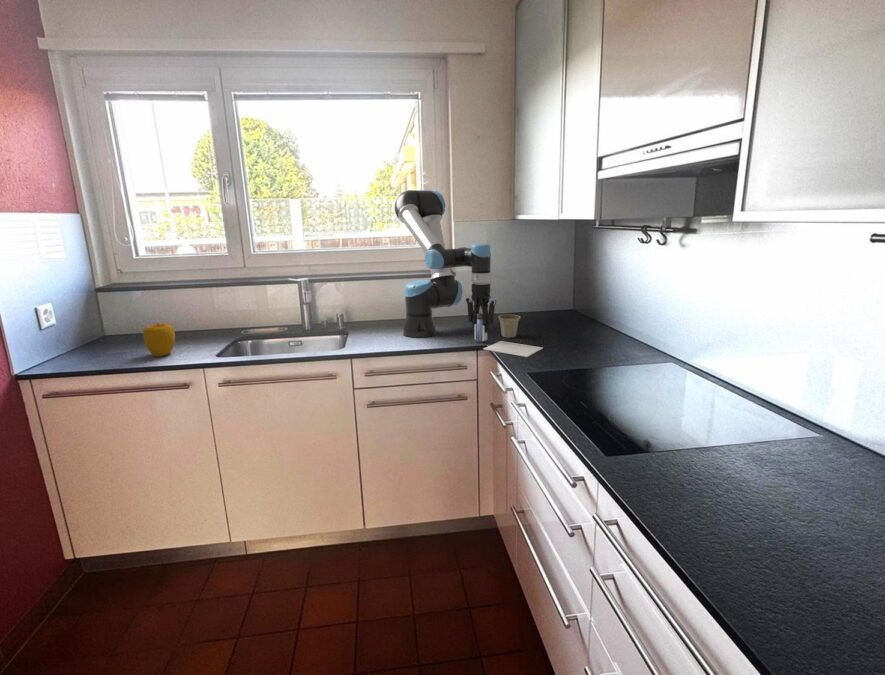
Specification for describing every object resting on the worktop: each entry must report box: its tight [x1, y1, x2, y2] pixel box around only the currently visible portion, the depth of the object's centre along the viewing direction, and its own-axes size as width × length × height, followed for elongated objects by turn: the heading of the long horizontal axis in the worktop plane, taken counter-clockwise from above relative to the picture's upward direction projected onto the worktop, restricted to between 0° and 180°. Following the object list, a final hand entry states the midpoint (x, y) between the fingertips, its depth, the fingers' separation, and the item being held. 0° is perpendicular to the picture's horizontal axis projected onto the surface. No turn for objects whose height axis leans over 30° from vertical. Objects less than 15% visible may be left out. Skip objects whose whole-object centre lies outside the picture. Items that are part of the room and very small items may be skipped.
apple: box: [142, 322, 176, 358], centre depth 187 cm, size 11×11×13 cm
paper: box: [482, 340, 544, 358], centre depth 187 cm, size 19×14×1 cm
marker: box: [476, 312, 486, 344], centre depth 197 cm, size 3×3×12 cm
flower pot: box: [498, 314, 521, 339], centre depth 206 cm, size 9×9×9 cm
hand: (480, 339), depth 198 cm, fingers closed on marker, 3 cm apart
